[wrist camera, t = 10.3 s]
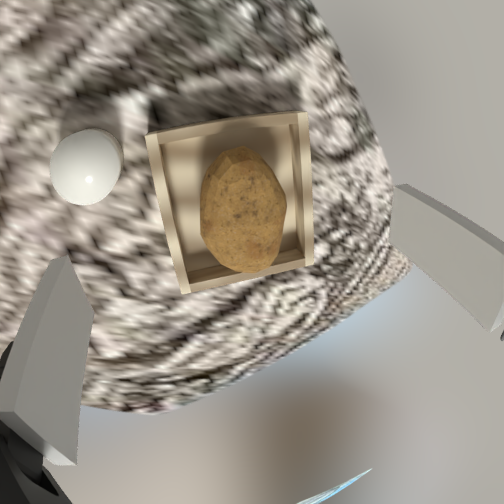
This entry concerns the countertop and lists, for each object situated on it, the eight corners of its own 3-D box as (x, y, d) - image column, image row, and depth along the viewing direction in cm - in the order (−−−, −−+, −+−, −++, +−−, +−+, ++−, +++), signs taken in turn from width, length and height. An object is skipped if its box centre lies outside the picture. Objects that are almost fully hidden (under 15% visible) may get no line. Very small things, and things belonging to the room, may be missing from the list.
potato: (269, 135, 35) (295, 145, 28) (276, 242, 41) (298, 273, 35) (185, 147, 33) (189, 159, 26) (203, 257, 40) (211, 292, 33)
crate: (147, 132, 32) (144, 136, 29) (294, 110, 35) (307, 112, 31) (180, 277, 41) (181, 294, 38) (302, 250, 44) (313, 264, 41)
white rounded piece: (54, 139, 29) (42, 144, 26) (116, 120, 30) (110, 122, 27) (70, 201, 33) (60, 212, 29) (130, 185, 34) (125, 195, 31)
